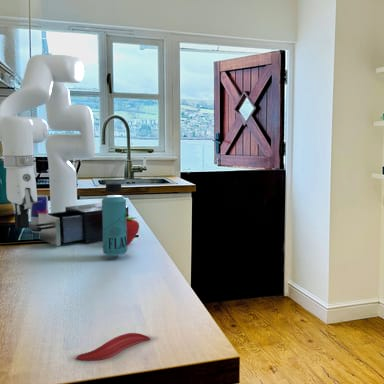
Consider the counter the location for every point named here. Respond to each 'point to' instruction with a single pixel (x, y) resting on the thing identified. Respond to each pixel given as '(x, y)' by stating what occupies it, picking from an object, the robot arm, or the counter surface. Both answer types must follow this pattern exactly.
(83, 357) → the cayenne pepper
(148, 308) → the counter surface
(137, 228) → the strawberry
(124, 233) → the beverage bottle
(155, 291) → the counter surface
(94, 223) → the cabinet
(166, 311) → the counter surface
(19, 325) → the counter surface
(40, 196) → the energy drink
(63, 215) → the drawer
